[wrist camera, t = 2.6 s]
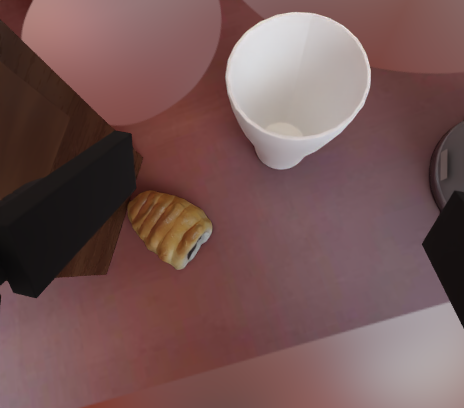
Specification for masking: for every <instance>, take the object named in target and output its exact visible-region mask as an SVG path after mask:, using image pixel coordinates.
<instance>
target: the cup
mask: <svg viewBox="0 0 464 408" xmlns="http://www.w3.org/2000/svg"><path fill="white" fill-rule="evenodd" d="M370 78H371V69H370V65H369V62H368V58H367V54H366V52H365V51H364V49H363V47H362V46H361V44H360V42H359V41H358V39H357V38H356V37H355V36H354V35H353V34H352V33H351V32H350V31H349V30H348V29H347V28H346V27H344V26H343V25H341V24H339V23H338V22H336V21H334V20H332V19H330V18H328V17H324V16H320V15H317V14H314V13H302V12H292V13H285V14H279V15H275V16H273V17H270V18H268V19H266V20H263V21H261V22H259V23H258V24H256V25H255V26H254V27H252V28H251V29H249V30H248V31H247V32H245V34H244V35H243V36H242V37H241V38H240V40H239V41H238V42H237V43H236V44H235V46H234V48H233V50H232V52H231V54H230V57H229V59H228V62H227V68H226V75H225V79H226V86H227V93H228V97H229V100H230V104H231V107H232V110H233V112H234V114H235V117H236V119H237V121H238V123H239V125H240V127H241V129H242V130H243V132H244V134H245V136H246V137H247V138H248V139H249V140H250V142H251V143H252V144H253V145H254V147H255V151H256V154H257V156H258V158H259V159H260V160H261V161H262V162H263V163H264V164H265V165H267V166H268V167H271V168H274V169H280V170H282V169H289V168H291V167H294V166H295V165H297V164H298V163H299V162H301V160H302V159H303V158H304V157H305V156H306V155H309V154H311V153H313V152H316V151H317V150H318V149H320V148H321V147H323V146H324V145H325V144H327V143H328V142H330V141H331V140H332V139H333V138H335V137H336V136H337V135H339V134H340V133H341V132H342V131H343V130H344V129H345V128H346V127H347V125H348V124H349V123H350V122H351V121H352V120H353V119H354V117H355V116H356V115H357V113H358V112H359V111H360V109H361V108H362V107H363V105H364V103H365V100H366V98H367V95H368V92H369V90H370Z"/></svg>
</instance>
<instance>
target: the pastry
mask: <svg viewBox="0 0 464 408" xmlns="http://www.w3.org/2000/svg"><path fill="white" fill-rule="evenodd" d="M127 209H128V218H129V220H130V222H131V223H132V227H133V229H134V230H135V231H136V233H137V234H138V235H139V237H140V238H141V239H142V240H143V241H144V243H145V245H146V247H147V249H148V250H150V251H153V252H154V253H156V254H157V255H158V257H159V258H160V259H161V260H162V261H164V262H167V263H169V264H171V265H172V266H173V267H174V268H175V269H177V270H180V269H183V268H185V266H186V265H187V263H188V262H189V261H191V260H192V259H193V258H194V256H195V255H196V253H197V251H198V250H199V248H200V246H201V244H203V243H204V242H206V241H207V240H208V238H209V237H210V235H211V233H212V223H211V221H210V220H209V219H208V218H207V216H206V215H205V213H204V212H203V210H202V209H200V208H199V207H197V206H194V205H193V204H191V203H189V202H188V201H186V200H185V199H183V198H179V197H177V196H174V195H169V194H164V193H159V192H156V191H153V190H150V191H145V192H142V193H140V194H139V195H137V196H136V197H135V198H134V199H133V200H132V201H131V202H129V204H128V206H127Z"/></svg>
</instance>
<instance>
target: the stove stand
mask: <svg viewBox="0 0 464 408" xmlns="http://www.w3.org/2000/svg"><path fill="white" fill-rule="evenodd" d="M113 131H115V130H114V129H113V128H112V127H111V126H110V125H109V124H108V123H107V122H106V121H105V120H104V119H102V117H100V116H99V115H98V114H97V113H96V112H95V111H94V110H93V109H92V108H91V107H90V106H89V105H88V104H87V103H86V102H85V101H84V100H83V99H82V98H81V97H80V96H79V95H78V94H77V93H76V92H75V91H74V90H72V88H71V87H70V86H68V85H67V84H66V83H65V82H64V81H63V80H62V79H61V78H60V77H59V76H58V75H57V74H56V73H55V72H54V71H53V70H52V69H51V68H50V67H49V66H48V65H47V64H46V63H45V62H44V61H43V60H42V59H41V58H40V57H38V56H37V55H36V54H35V53H34V52H33V51H32V50H31V49H30V48H29V47H28V46H27V45H26V44H25V43H24V42H23V41H22V40H21V39H20V38H19V37H18V36H17V35H16V34H15V33H14V32H13V31H12V30H11V29H10V28H9V27H8V26H7V25H6V24H5V23H3V22H2V21H1V20H0V200H1V201H2V198H4V197H5V196H7V195H8V194H10V193H11V194H12V193H13V191H15V190H16V189H18V188H19V187H21V186H22V185H24V184H26V183H28V182H31V181H34V180H36V179H39V178H44V177H46V176H47V175H49V174H50V173H52V172H53V171H55V170H56V169H58V168H59V167H61V166H62V165H64V164H65V163H67V162H68V161H70V160H71V159H73V158H74V157H76V156H77V155H79V154H80V153H82V152H83V151H85V150H86V149H88V148H89V147H91V146H92V145H94V144H95V143H97V142H98V141H100V140H101V139H103V138H104V137H106V136H107V135H109V134H110V133H112V132H113ZM133 156H134V167H135V178H136V179H137V175H138V172H139V169H140V166H141V163H142V160H143V157H142V156H141V155H140V154H139V153H138V152H137V151H136V150H135V149H134V148H133ZM131 195H132V194H131ZM131 195H130V196H129V197H128V198H127V199H126V200H125V201H124V202H123V204H122V205H121V206H120V207H119V208H118V209H117V210H116V211H115V212H114V213H113V215H112V216H111V217H110V218H109V219H108V220H107V221H106V222H105V223H104V224H103V226H102V227H101V228H100V229H99V230H98V231H97V232H96V233H95V234H94V236H93V237H92V238H91V239H90V240H89V241H88V242H87V243H86V244H85V245H84V247H83V248H82V249H81V250H80V251H79V252H78V253H77V254H76V255H75V256H74V258H73V259H72V260H71V261H70V262H69V263H68V264H67V265H66V266H65V267H64V269H63V270H62V271H61V272H60V273H59V274H58V275H57V276H56V277H55V278H59V277H74V276H90V275H106V274H107V271H108V268H109V265H110V261H111V258H112V255H113V252H114V249H115V246H116V242H117V239H118V236H119V233H120V230H121V226H122V223H123V220H124V217H125V214H126V210H127V206H128V204H129V201H130V198H131ZM6 281H8V280H6Z"/></svg>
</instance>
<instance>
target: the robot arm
mask: <svg viewBox="0 0 464 408" xmlns="http://www.w3.org/2000/svg"><path fill="white" fill-rule="evenodd" d="M430 184H431V189H432V193H433V195H434V198H435V201H436V203H437V205H438V207H439V208H440V210H441V213H440V215H439V216H438V218H437V220H436V221H435V223H434V225H433V226H432V228H431V230H430V231H429V233H428V235H427V236H426V238H425V240H424V241H423V243H422V245H423V247H424V249H425V252H426V254H427V256H428V258H429V260H430V262H431V264H432V266H433V268H434V270H435V272H436V274H437V276H438V278H439V280H440V282H441V284H442V286H443V288H444V290H445V292H446V294H447V296H448V298H449V300H450V302H451V304H452V306H453V308H454V310H455V312H456V314H457V316H458V318H459V320H460V322H461V324H462V326H463V328H464V120H463V121H462V122H460V123H459V124H458V125H456V126H455V127H453V128H452V129H451V130H449V131H448V132H447V133H446V134H445V135H444V136H443V137H442V139H441V140H440V141H439V143H438V145H437V146H436V148H435V150H434V153H433V155H432V159H431V163H430ZM135 189H136V178H135V167H134V156H133V146H132V135H131V133H126V132H120V131H113V132H112V133H110V134H109V135H107V136H106V137H104V138H103V139H101V140H100V141H98V142H97V143H95V144H94V145H92V146H91V147H89V148H88V149H86V150H85V151H83V152H82V153H80V154H79V155H77V156H76V157H74V158H73V159H71V160H70V161H68V162H67V163H65V164H64V165H62V166H61V167H59V168H58V169H56V170H55V171H53V172H52V173H50V174H49V175H47V176H46V177H44V178H39V179H36V180H34V181H31V182H28V183H26V184H24V185H22V186H21V187H19V188H18V189H16V190H15V191H13V193H12V194H11V193H10V194H8V195H7V196H5V197H4V198H2V201H1V200H0V285H1V284H3V283H4V282H5V281H6V280H8V282H9V284H10V286H11V289H12V291H13V293H17V294H21V295H25V296H29V297H33V298H37V297H38V296H39V295H40V294H41V293H42V292H43V291H44V289H45V288H46V287H47V286H48V285H49V284H50V283H51V282H52V281H53V280H54V278H55V277H56V276H57V275H58V274H59V273H60V272H61V271H62V270H63V269H64V267H65V266H66V265H67V264H68V263H69V262H70V261H71V260H72V259H73V258H74V256H75V255H76V254H77V253H78V252H79V251H80V250H81V249H82V248H83V247H84V245H85V244H86V243H87V242H88V241H89V240H90V239H91V238H92V237H93V236H94V234H95V233H96V232H97V231H98V230H99V229H100V228H101V227H102V226H103V224H104V223H105V222H106V221H107V220H108V219H109V218H110V217H111V216H112V215H113V213H114V212H115V211H116V210H117V209H118V208H119V207H120V206H121V205H122V204H123V202H124V201H125V200H126V199H127V198H128V197H129V196H130V195H131V194H132V193H133V191H134V190H135ZM0 303H1V295H0Z"/></svg>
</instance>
